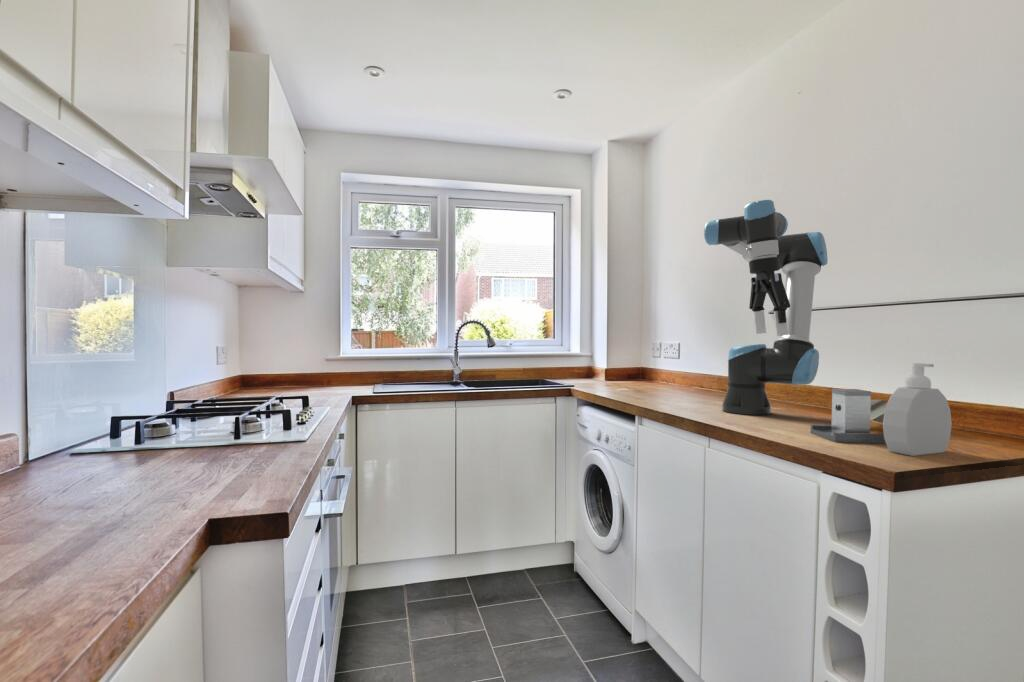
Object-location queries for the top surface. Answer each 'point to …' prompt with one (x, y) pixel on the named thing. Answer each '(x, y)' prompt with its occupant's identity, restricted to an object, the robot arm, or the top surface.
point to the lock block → (851, 410)
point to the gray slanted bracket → (877, 410)
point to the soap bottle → (917, 417)
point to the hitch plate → (851, 434)
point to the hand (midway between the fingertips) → (770, 334)
